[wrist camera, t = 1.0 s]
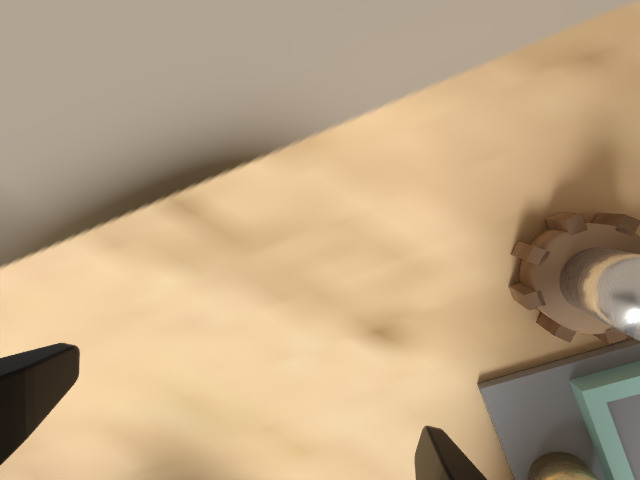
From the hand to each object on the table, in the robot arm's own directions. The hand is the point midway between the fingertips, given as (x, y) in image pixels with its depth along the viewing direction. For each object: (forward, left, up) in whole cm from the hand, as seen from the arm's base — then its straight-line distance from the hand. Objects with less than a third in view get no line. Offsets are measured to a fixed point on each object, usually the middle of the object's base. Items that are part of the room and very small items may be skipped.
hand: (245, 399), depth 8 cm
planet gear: (-5, -14, -14) cm, 21 cm away
